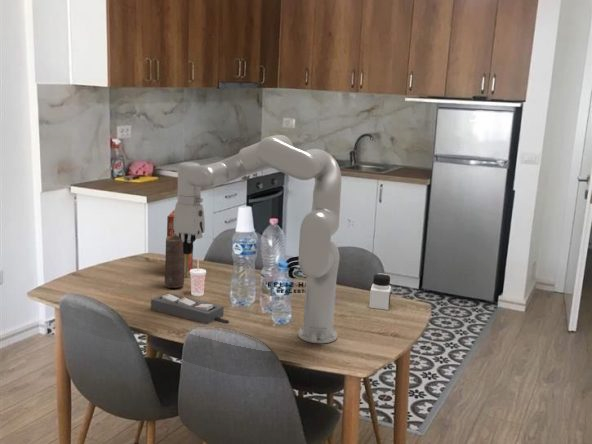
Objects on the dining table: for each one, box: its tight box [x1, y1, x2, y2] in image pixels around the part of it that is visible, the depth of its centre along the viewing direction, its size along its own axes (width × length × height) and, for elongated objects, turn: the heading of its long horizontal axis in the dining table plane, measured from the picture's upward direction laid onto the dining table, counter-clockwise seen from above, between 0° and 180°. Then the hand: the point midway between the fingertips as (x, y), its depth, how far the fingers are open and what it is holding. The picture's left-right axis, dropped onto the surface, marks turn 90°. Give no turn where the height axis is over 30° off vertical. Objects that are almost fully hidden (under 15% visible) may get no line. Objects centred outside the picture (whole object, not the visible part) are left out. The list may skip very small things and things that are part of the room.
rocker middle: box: [178, 298, 196, 306], centre depth 221 cm, size 5×4×1 cm
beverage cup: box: [189, 257, 207, 297], centre depth 240 cm, size 6×6×14 cm
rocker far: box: [162, 293, 180, 302], centre depth 224 cm, size 5×4×1 cm
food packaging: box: [166, 209, 194, 279], centre depth 264 cm, size 13×9×25 cm
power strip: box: [150, 292, 230, 325], centre depth 221 cm, size 29×9×4 cm, turn 62°
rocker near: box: [195, 303, 214, 311], centre depth 218 cm, size 5×4×1 cm
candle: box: [164, 235, 185, 289], centre depth 246 cm, size 8×7×20 cm
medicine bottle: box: [368, 273, 392, 311], centre depth 238 cm, size 7×7×12 cm
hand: (188, 253), depth 218 cm, fingers closed
